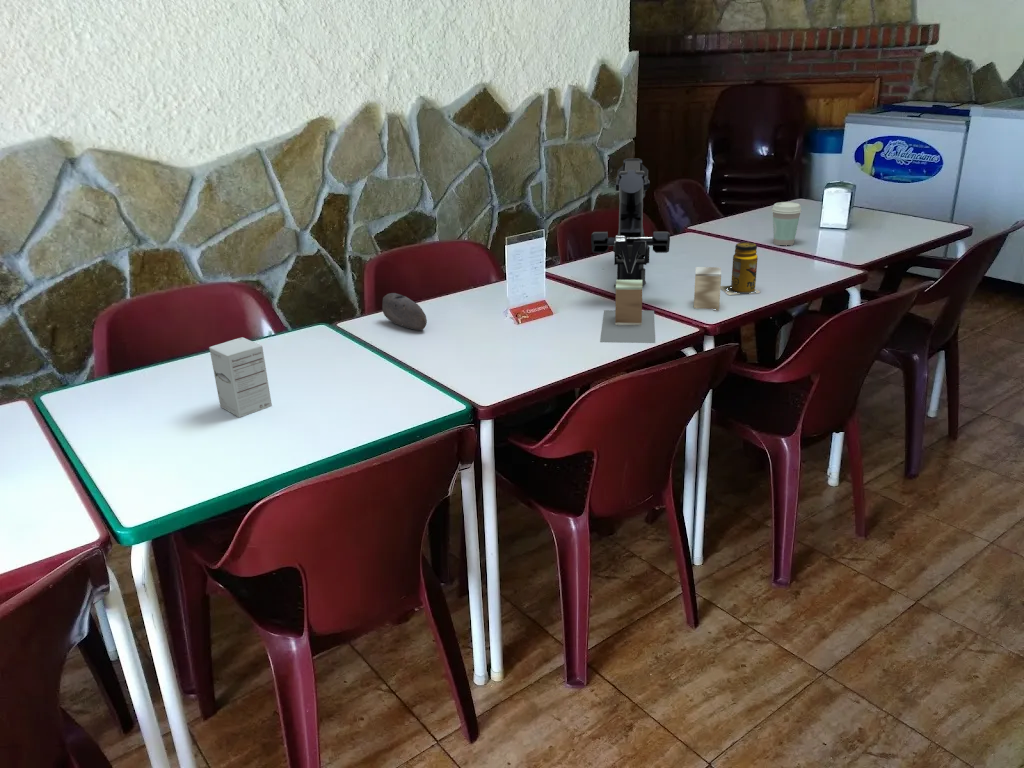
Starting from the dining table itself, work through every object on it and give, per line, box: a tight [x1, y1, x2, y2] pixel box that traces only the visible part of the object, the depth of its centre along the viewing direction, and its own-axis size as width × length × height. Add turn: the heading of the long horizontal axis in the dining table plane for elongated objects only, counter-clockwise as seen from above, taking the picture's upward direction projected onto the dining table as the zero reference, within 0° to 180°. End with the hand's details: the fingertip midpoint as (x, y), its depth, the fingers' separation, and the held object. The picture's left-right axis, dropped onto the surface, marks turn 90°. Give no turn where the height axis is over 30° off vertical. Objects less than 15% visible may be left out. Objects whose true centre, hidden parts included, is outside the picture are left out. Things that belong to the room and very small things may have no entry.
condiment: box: [720, 241, 761, 296], centre depth 217 cm, size 7×8×12 cm
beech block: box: [693, 266, 722, 311], centre depth 206 cm, size 6×6×9 cm
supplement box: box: [208, 336, 273, 418], centre depth 161 cm, size 7×7×13 cm
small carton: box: [615, 279, 643, 325], centre depth 198 cm, size 6×6×9 cm
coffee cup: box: [771, 201, 802, 247], centre depth 257 cm, size 8×8×12 cm
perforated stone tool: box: [382, 292, 428, 331], centre depth 202 cm, size 15×5×7 cm, turn 40°
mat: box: [599, 309, 656, 344], centre depth 196 cm, size 22×12×1 cm, turn 172°
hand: (629, 273), depth 203 cm, fingers closed
